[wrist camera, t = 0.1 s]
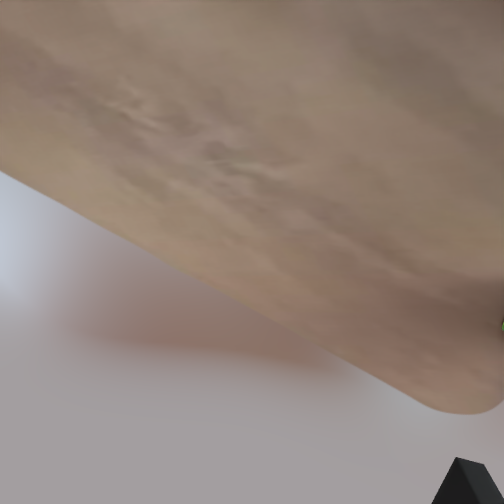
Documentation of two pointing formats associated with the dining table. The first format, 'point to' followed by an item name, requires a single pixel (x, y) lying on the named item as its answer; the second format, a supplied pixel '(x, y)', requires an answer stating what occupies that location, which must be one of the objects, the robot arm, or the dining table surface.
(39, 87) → the dining table surface
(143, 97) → the dining table surface
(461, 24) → the dining table surface
